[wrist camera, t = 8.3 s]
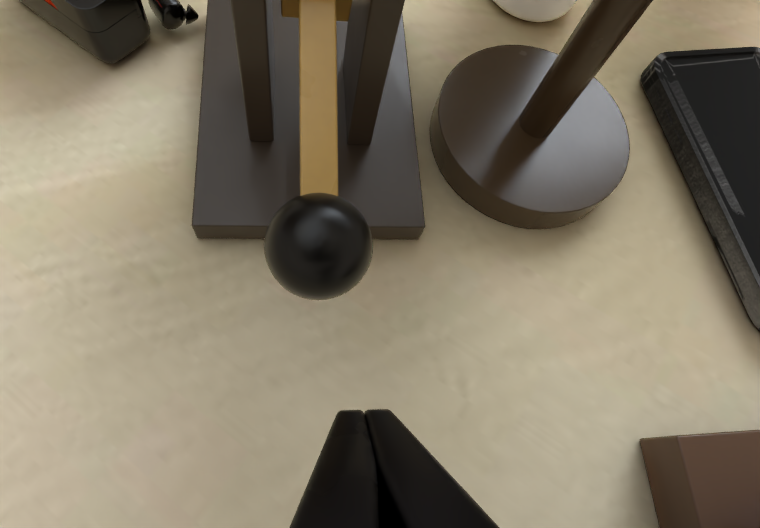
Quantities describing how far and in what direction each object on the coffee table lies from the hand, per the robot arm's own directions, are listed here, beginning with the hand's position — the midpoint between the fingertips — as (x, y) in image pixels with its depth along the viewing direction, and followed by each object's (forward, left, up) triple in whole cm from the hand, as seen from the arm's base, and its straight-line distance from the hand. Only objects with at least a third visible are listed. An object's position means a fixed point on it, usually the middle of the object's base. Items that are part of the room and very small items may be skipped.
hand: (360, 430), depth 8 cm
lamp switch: (+14, 0, -11) cm, 18 cm away
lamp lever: (+10, 0, -6) cm, 12 cm away
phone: (+11, -22, -11) cm, 27 cm away
